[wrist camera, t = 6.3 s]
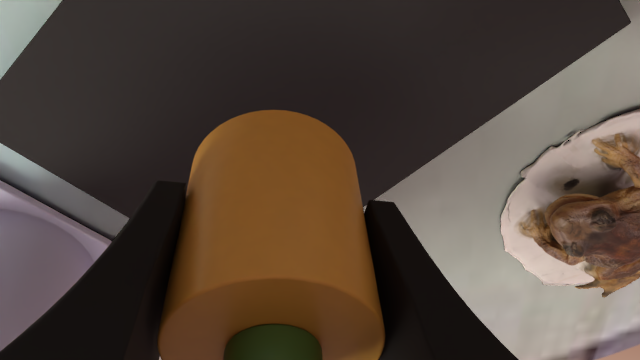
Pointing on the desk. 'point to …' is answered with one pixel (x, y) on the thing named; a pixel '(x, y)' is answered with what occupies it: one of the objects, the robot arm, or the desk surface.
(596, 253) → the roast chicken plate
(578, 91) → the desk surface
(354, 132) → the mat
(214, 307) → the orange cylinder green stub
